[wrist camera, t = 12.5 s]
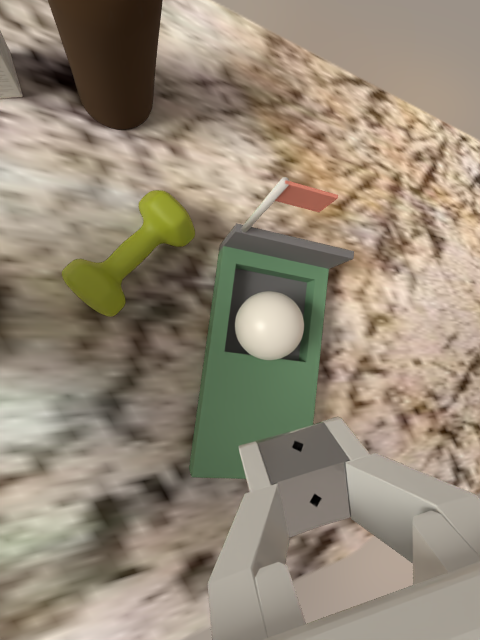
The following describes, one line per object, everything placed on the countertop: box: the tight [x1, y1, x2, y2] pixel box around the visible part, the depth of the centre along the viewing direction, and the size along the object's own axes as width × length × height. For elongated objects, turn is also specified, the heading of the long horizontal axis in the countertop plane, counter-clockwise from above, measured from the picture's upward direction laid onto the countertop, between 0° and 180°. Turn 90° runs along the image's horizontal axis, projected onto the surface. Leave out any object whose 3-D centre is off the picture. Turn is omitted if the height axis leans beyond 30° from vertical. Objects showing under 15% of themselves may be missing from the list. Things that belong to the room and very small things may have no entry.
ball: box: [235, 291, 304, 360], centre depth 43 cm, size 9×9×9 cm
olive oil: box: [48, 0, 162, 129], centre depth 33 cm, size 11×11×25 cm
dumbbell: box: [62, 190, 195, 317], centre depth 41 cm, size 16×8×7 cm, turn 137°
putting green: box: [189, 177, 354, 479], centre depth 38 cm, size 31×16×21 cm, turn 172°
